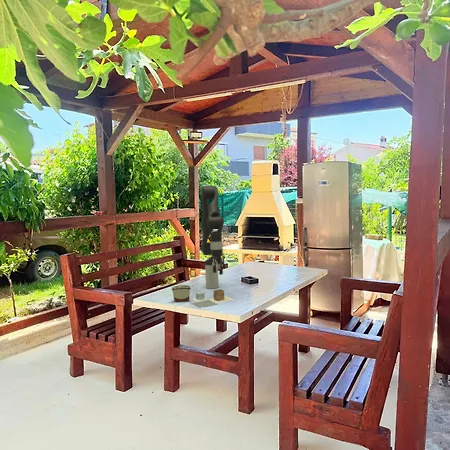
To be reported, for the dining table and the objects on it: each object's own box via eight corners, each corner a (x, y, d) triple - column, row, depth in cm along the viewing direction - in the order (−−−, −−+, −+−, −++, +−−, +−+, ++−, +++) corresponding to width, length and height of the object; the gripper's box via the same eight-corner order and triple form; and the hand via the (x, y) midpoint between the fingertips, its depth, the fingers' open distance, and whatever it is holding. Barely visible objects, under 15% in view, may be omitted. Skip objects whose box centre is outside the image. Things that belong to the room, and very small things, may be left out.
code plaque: (203, 300, 248) (203, 299, 248) (225, 296, 255) (225, 295, 255) (212, 304, 237) (212, 303, 237) (234, 300, 245) (234, 299, 245)
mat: (191, 304, 240) (191, 303, 240) (208, 300, 246) (208, 299, 246) (200, 308, 230) (199, 307, 230) (217, 304, 236) (217, 304, 236)
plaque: (192, 299, 251) (192, 299, 251) (203, 297, 255) (203, 296, 255) (197, 302, 244) (197, 301, 244) (208, 299, 248) (208, 299, 248)
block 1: (196, 299, 250) (195, 293, 250) (201, 298, 253) (200, 292, 252) (199, 300, 247) (199, 294, 247) (204, 299, 249) (204, 293, 249)
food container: (192, 299, 251) (191, 284, 250) (191, 302, 245) (190, 286, 244) (173, 300, 251) (172, 285, 250) (172, 303, 245) (171, 287, 244)
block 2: (213, 299, 247) (213, 290, 247) (220, 298, 250) (220, 289, 249) (217, 301, 243) (217, 291, 242) (224, 299, 245) (224, 290, 245)
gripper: (227, 248, 240) (228, 274, 241) (216, 246, 252) (217, 271, 253) (216, 250, 236) (218, 276, 237) (206, 248, 248) (207, 272, 249)
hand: (217, 273), depth 245 cm, fingers open, 8 cm apart
